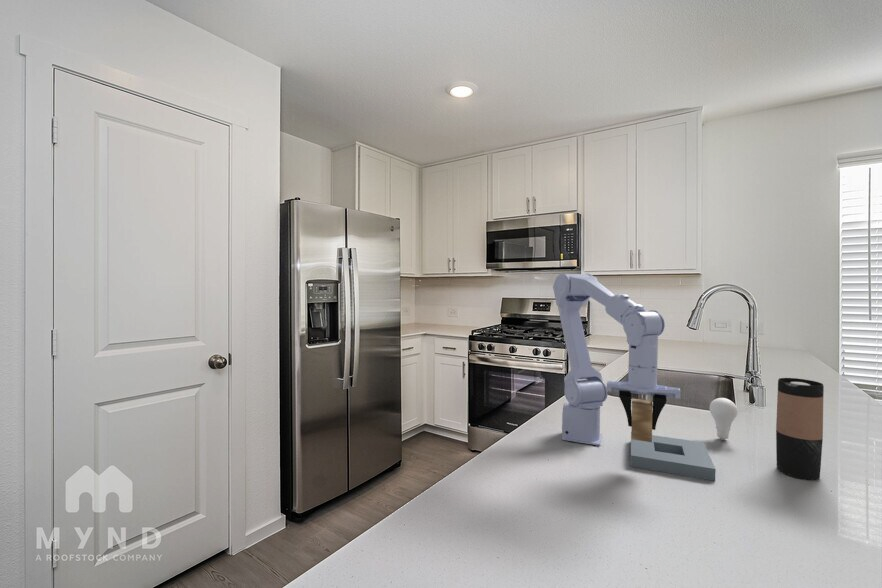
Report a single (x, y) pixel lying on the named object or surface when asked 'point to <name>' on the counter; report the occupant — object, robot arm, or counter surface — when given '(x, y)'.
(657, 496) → the counter surface
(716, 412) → the lightbulb
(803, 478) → the travel mug
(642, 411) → the peg
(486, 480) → the counter surface
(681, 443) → the socket block
